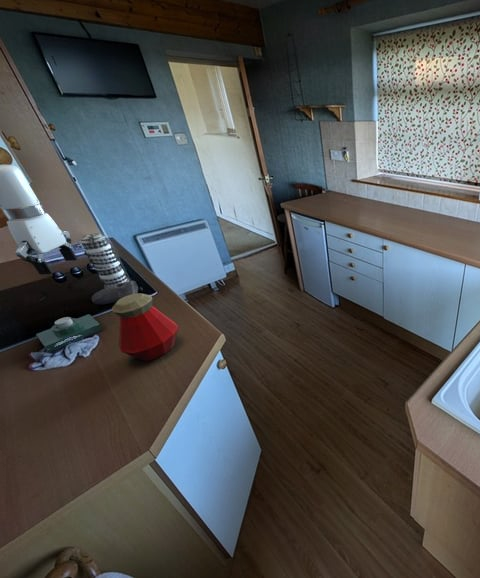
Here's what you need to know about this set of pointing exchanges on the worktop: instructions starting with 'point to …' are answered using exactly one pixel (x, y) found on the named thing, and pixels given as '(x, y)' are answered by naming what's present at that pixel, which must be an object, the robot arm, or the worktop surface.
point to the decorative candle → (103, 259)
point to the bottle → (143, 328)
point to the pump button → (63, 322)
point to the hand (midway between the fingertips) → (59, 266)
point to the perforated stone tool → (115, 293)
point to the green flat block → (69, 332)
